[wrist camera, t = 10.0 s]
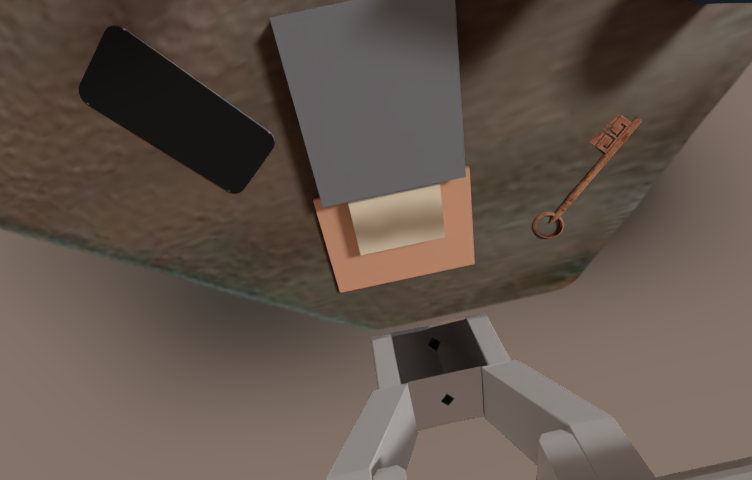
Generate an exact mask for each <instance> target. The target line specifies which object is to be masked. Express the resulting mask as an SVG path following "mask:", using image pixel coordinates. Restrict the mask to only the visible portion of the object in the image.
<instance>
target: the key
mask: <svg viewBox="0 0 752 480" xmlns="http://www.w3.org/2000/svg"><path fill="white" fill-rule="evenodd" d="M619 115H620V113H618V114H617V115H616V116H615V117H614V118H613V119H612V120H611V121H610V122H609V123H608V124H607V125H606V127H608V128H609V127H610V126H611V124H612V123H613V122H614V121H615V120H616V118H617V117H618V116H619ZM641 122H642V120H640V119H639V118H637V117H635V118H634V120H633V121H632V122H630V121H629V120H628V119H626V118H625V117H624V116H622V115H621V116H620V118H619V119H618V120H617V121H616V122H615V123H614V125H613V126H612V127H611V128H610V130H612V131H613V132H615V133H616V134H618V133H619V132H620V130H621V129H622V128H623V127H622V126H621V125H620V124H621V123H622V124H624V125H625V128H624V129H623V130H622V131H621V132H620V133H619V135H618V136H617V137H616V136H615V135H613V134H612V133H610V132H609V131H608V130H606V129H605V128H603V130H604V131H605V132H607V133H608V134H610V135H611V136H612V137H614V138H615V139H614V140H613V141H612V139H611V138H610V137H608V136H607V135H604V137H603V138H602V139H601V140H600V141H599V143H598V144H597V145H596V147H597V148H599V149H600V150H602V151H603V152H605V154H604V155H603V156H602V157H601V158H600V159H599V161H598V162H597V163H596V164H595V165H594V166H593V168H592V169H591V170H590V171H589V172H588V173H587V175H586V176H585V177H584V178H583V179H582V180H581V182H580V183H579V184H578V185H577V186H576V188H575V189H574V190H573V191H572V192H571V193H570V194H569V195H568V198H567V199H565V200H564V202H563V204H562V205H560V206H559V208H558V209H557V211H556V212H555V213H554V212H543V213H541V214H539V215H538V216H537V217H536V218H535V219H534V221H533V225H532V226H533V230H534V232H535V233H536V234H537V235H538V236H540V237H543V238H554V237H556V236H558V235H560V234H561V232H562V231H563V229H564V222H563V219H562V218H561V217H560V216H561V215H562V214H563V213H564V211H566V210H567V208H568V207H569V206H570V205H571V204H572V202H573V201H575V200H576V199H577V198H578V196H579V195H580V193H581V192H582V191H583V190H584V189H585V188H586V186H587V185H588V184H589V183H590V182H591V180H592V179H593V178H594V177H595V176H596V175H597V173H598V172H599V171H600V170H601V169H602V168H603V166H604V165H605V164H606V163H607V162H608V161H609V159H610V158H611V157H612V156H613V155H614V154H615V152H616V151H617V150H618V149H619V148H620V147H621V145H622V144H623V143H624V142H625V141H626V140H627V138H628V137H629V136H630V135H631V134H632V133H633V131H634V130H635V129H636V128H637V127H638V126H639V124H640V123H641ZM603 134H604V133H602V132H601V131H600V132H599V133H598V134H597V135H596V136H595V137H594V138H593V139H592V140H591V141H590V143H592V144H593V145H595V144H596V143H597V141H598V140H599V139H600V138H601V137H602V135H603ZM611 141H612V143H611V144H610V142H611ZM609 144H610V145H609ZM603 145H605V146H606V147H607V146H608V145H609V146H608V147H607V148H606V149H605V148H604V147H602V146H603ZM547 215H552V218H551V220H550V223H552V222H554V221H556V220H557V219H558V218H559V220H560V227H559V229H558V230H557V231H556V232H555V233H553V234H551V235H542V234H540V233H538V231H537V228H536V225H537V222H538V221H539V219H541V218H542V217H544V216H547Z"/></svg>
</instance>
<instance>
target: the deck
mask: <svg viewBox="0 0 752 480" xmlns="http://www.w3.org/2000/svg"><path fill="white" fill-rule="evenodd" d="M270 21H271V25H272V28H273V32H274V35H275V39H276V43H277V46H278V50H279V53H280V57H281V60H282V64H283V68H284V71H285V75H286V78H287V82H288V85H289V89H290V92H291V96H292V100H293V103H294V107H295V110H296V114H297V117H298V121H299V124H300V128H301V132H302V135H303V139H304V142H305V146H306V149H307V153H308V156H309V160H310V164H311V167H312V171H313V174H314V178H315V181H316V185H317V188H318V192H319V196H320V199H321V203H322V206H323V207H327V206H332V205H337V204H341V203H346V202H351V201H356V200H360V199H365V198H370V197H374V196H379V195H384V194H388V193H393V192H398V191H403V190H407V189H412V188H417V187H421V186H426V185H431V184H435V183H440V182H445V181H449V180H454V179H459V178H464V177H466V170H465V154H464V137H463V121H462V104H461V88H460V71H459V54H458V38H457V21H456V5H455V0H351V1H346V2H341V3H337V4H332V5H327V6H322V7H318V8H313V9H308V10H303V11H299V12H294V13H289V14H284V15H280V16H275V17H270Z"/></svg>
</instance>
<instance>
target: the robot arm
mask: <svg viewBox="0 0 752 480" xmlns="http://www.w3.org/2000/svg"><path fill="white" fill-rule="evenodd" d="M391 336H392V338H391ZM392 341H393V342H392ZM371 343H372V350H373V357H374V364H375V371H376V378H377V386H378V390H374V391H372V392H371V394H370V396H369V398H368V400H367V402H366V404H365V406H364V408H363V410H362V411H361V413H360V415H359V417H358V419H357V421H356V423H355V425H354V427H353V429H352V431H351V432H350V435H349V436H348V438H347V440H346V442H345V444H344V446H343V448H342V450H341V452H340V454H339V455H338V457H337V459H336V461H335V463H334V465H333V467H332V469H331V471H330V472H329V474H328V476H327V478H326V480H408V478H407V474H406V470H407V467H408V464H409V461H410V457H411V454H412V451H413V448H414V445H415V441H416V438H417V435H418V431H420V430H424V429H428V428H432V427H436V426H440V425H444V424H448V423H452V422H458V421H463V420H469V419H474V418H479V417H485V419H486V420H487V421H488V422H489V423H491V424H492V425H493V426H494V427H495V428H496V429H497V430H498V431H500V432H501V433H502V434H503V435H504V436H505V437H506V438H507V439H508V440H510V441H511V442H512V443H513V444H514V445H515V446H516V447H517V448H518V449H519V450H520V451H522V452H523V453H524V454H525V455H526V456H527V457H528V458H529V459H530V460H532V461H533V462H534V463H535V464H536V465H537V476H536V480H752V457H747V458H743V459H738V460H733V461H729V462H724V463H720V464H715V465H711V466H706V467H701V468H697V469H692V470H688V471H683V472H678V473H674V474H669V475H665V476H660V477H655V476H654V474H653V473H652V472H651V470H650V469H649V467H648V466H647V465H646V463H645V462H644V460H643V459H642V458H641V456H640V455H639V453H638V452H637V450H636V449H635V448H634V446H633V445H632V443H631V442H630V441H629V439H628V438H627V436H626V435H625V433H624V432H623V431H622V429H621V428H620V426H619V425H618V424H617V422H616V421H615V419H614V418H613V417H612V416H610V415H609V414H607V413H605V412H604V411H602V410H600V409H598V408H597V407H595V406H593V405H592V404H590V403H589V402H587V401H585V400H584V399H582V398H580V397H579V396H577V395H575V394H574V393H572V392H570V391H569V390H567V389H565V388H563V387H562V386H560V385H559V384H557V383H555V382H554V381H552V380H550V379H548V378H547V377H545V376H544V375H542V374H540V373H538V372H537V371H535V370H534V369H532V368H530V367H529V366H527V365H525V364H524V363H522V362H520V361H519V360H512V361H511V360H510V358H509V356H508V354H507V353H506V350H505V349H504V347H503V345H502V343H501V341H500V340H499V338H498V336H497V334H496V332H495V330H494V328H493V326H492V325H491V323H490V321H489V319H488V317H487V315H486V314H484V313H482V314H477V315H473V316H468V317H465V318H459V319H455V320H451V321H447V322H442V323H438V324H433V325H429V326H426V327H421V328H415V329H410V330H404V331H399V332H394V333H391V334H386V335H380V336H375V337H372V341H371Z"/></svg>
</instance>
